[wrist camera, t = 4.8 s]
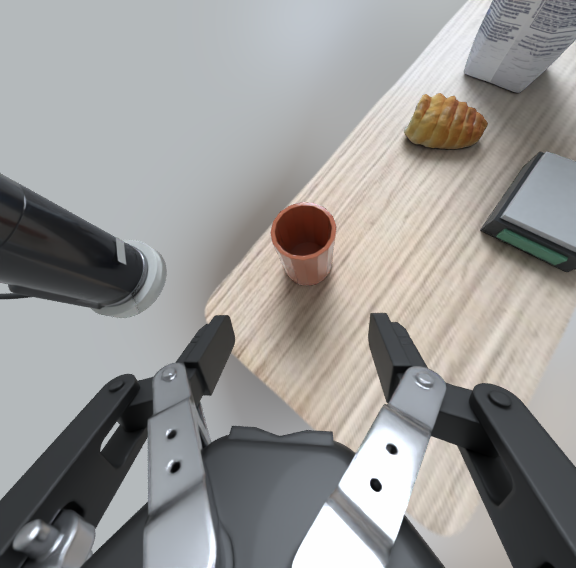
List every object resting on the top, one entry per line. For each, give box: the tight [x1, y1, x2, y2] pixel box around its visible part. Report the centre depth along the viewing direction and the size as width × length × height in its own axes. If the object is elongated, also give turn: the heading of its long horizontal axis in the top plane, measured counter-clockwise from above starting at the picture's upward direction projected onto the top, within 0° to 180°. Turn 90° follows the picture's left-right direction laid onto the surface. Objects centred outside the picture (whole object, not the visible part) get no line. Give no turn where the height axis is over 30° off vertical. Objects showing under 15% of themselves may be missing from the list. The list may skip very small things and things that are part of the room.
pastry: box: [404, 93, 488, 149], centre depth 29 cm, size 9×7×4 cm
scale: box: [480, 151, 576, 272], centre depth 24 cm, size 11×9×3 cm
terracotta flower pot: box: [271, 202, 336, 286], centre depth 24 cm, size 6×6×8 cm
